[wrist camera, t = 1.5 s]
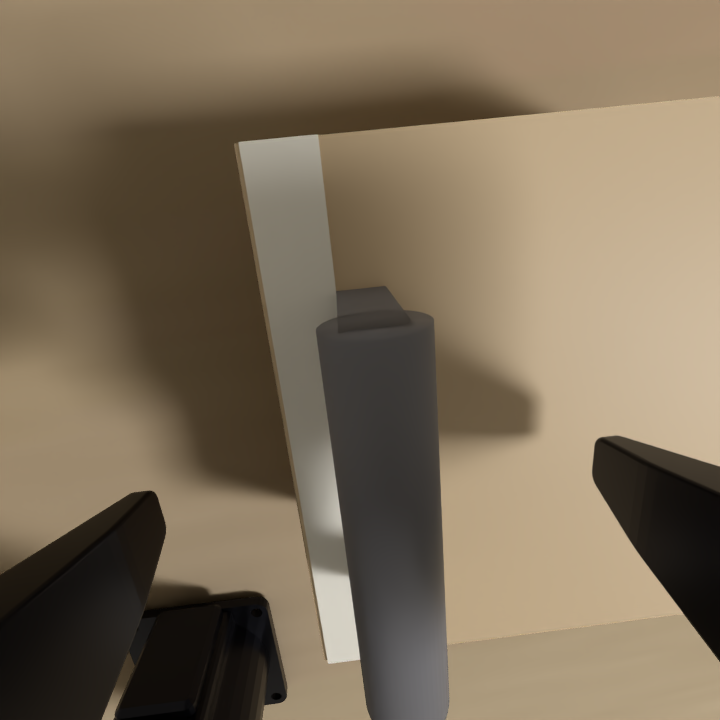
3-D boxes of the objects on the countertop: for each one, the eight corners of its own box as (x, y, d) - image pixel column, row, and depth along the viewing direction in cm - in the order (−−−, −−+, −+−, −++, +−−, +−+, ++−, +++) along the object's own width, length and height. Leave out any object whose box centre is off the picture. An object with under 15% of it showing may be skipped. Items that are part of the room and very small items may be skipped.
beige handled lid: (694, 595, 13) (861, 772, 9) (324, 643, 12) (321, 848, 8) (804, 92, 8) (1238, -20, 4) (239, 147, 8) (147, 81, 4)
